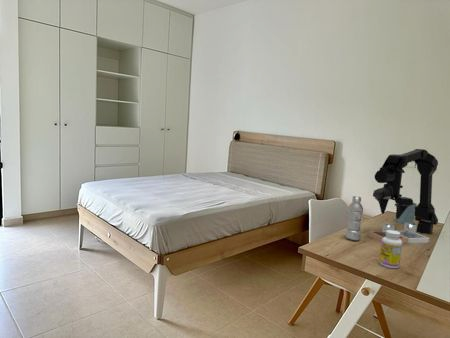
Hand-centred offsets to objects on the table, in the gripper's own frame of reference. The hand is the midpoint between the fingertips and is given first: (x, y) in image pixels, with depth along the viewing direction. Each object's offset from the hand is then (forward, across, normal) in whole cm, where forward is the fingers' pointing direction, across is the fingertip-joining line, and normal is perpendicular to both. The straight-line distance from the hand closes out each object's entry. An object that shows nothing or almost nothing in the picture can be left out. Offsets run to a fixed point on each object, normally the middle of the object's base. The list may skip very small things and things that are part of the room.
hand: (389, 216), depth 144 cm
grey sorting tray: (+12, 0, +6) cm, 13 cm away
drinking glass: (+12, -29, +36) cm, 48 cm away
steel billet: (+11, 0, 0) cm, 11 cm away
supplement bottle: (+12, +25, -20) cm, 34 cm away
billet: (+11, 0, +12) cm, 16 cm away
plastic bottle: (+12, -3, -16) cm, 20 cm away
